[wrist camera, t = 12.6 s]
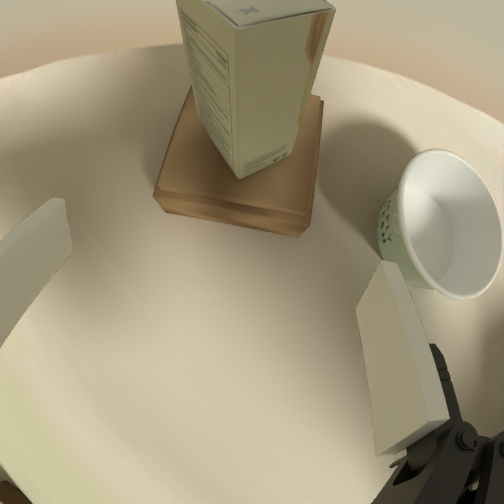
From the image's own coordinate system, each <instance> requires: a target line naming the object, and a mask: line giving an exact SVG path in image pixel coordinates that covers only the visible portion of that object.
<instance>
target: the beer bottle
mask: <svg viewBox="0 0 504 504" xmlns="http://www.w3.org/2000/svg"><path fill="white" fill-rule="evenodd" d="M0 504H32V503H31V502H30V501H29V500H28V499H27V498H26V497H25V496H24V494H23V493H22V492H21V491H20V490H19V489H17V488H16V487H14V486H13V485H11V484H10V483H8V482H7V481H1V482H0Z"/></svg>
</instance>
